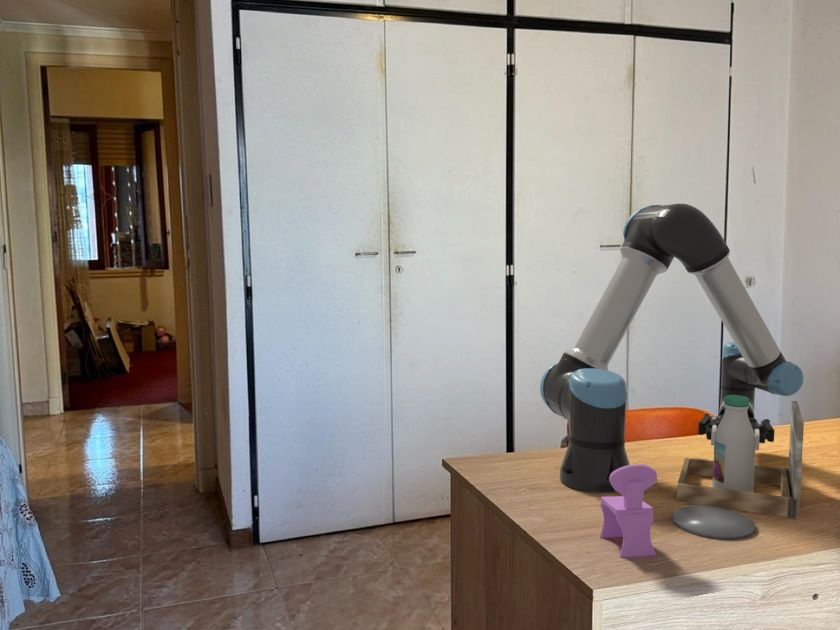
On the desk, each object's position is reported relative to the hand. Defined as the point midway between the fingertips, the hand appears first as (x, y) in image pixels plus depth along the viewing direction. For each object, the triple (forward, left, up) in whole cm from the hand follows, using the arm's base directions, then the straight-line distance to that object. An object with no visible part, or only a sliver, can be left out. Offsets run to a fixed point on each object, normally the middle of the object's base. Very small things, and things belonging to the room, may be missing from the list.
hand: (734, 441), depth 148 cm
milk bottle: (0, +1, -11) cm, 11 cm away
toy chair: (-16, -34, -11) cm, 39 cm away
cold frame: (0, +1, -11) cm, 11 cm away
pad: (-3, -18, -11) cm, 21 cm away
